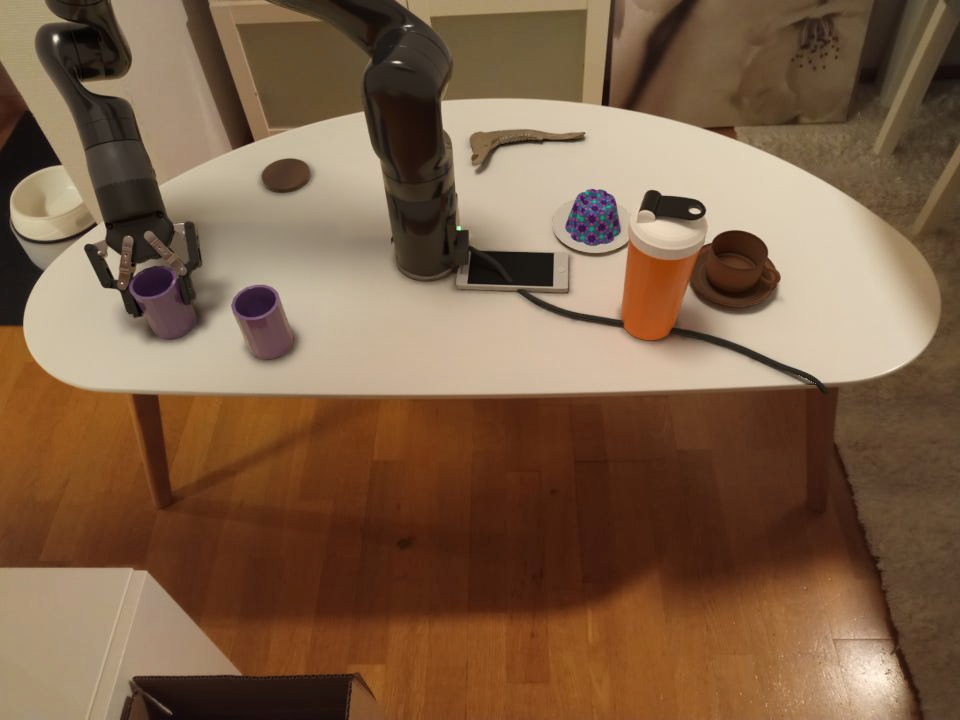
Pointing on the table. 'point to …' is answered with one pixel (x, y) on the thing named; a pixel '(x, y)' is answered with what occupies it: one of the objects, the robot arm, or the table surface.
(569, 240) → the pudding
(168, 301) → the cup
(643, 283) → the shaker bottle
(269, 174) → the coaster
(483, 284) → the smartphone
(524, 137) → the jawbone
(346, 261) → the table surface
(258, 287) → the cup
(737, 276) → the cup and saucer
